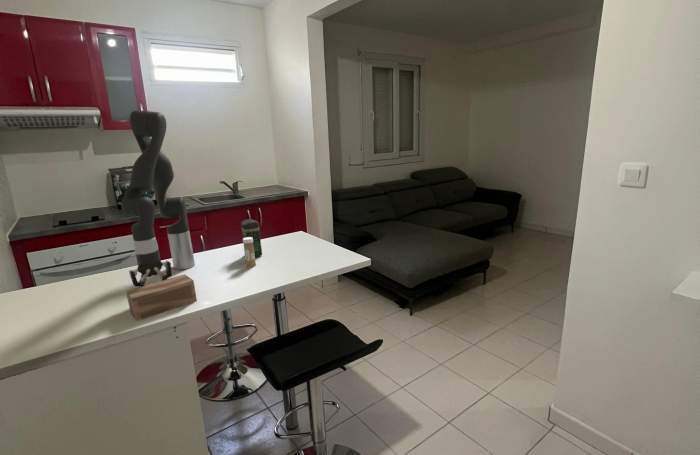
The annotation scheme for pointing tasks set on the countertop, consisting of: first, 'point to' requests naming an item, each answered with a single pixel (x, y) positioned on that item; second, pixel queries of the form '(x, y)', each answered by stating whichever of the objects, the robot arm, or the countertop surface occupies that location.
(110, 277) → the countertop surface
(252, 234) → the coffee jar
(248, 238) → the sprinkles bottle
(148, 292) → the brown wooden block
